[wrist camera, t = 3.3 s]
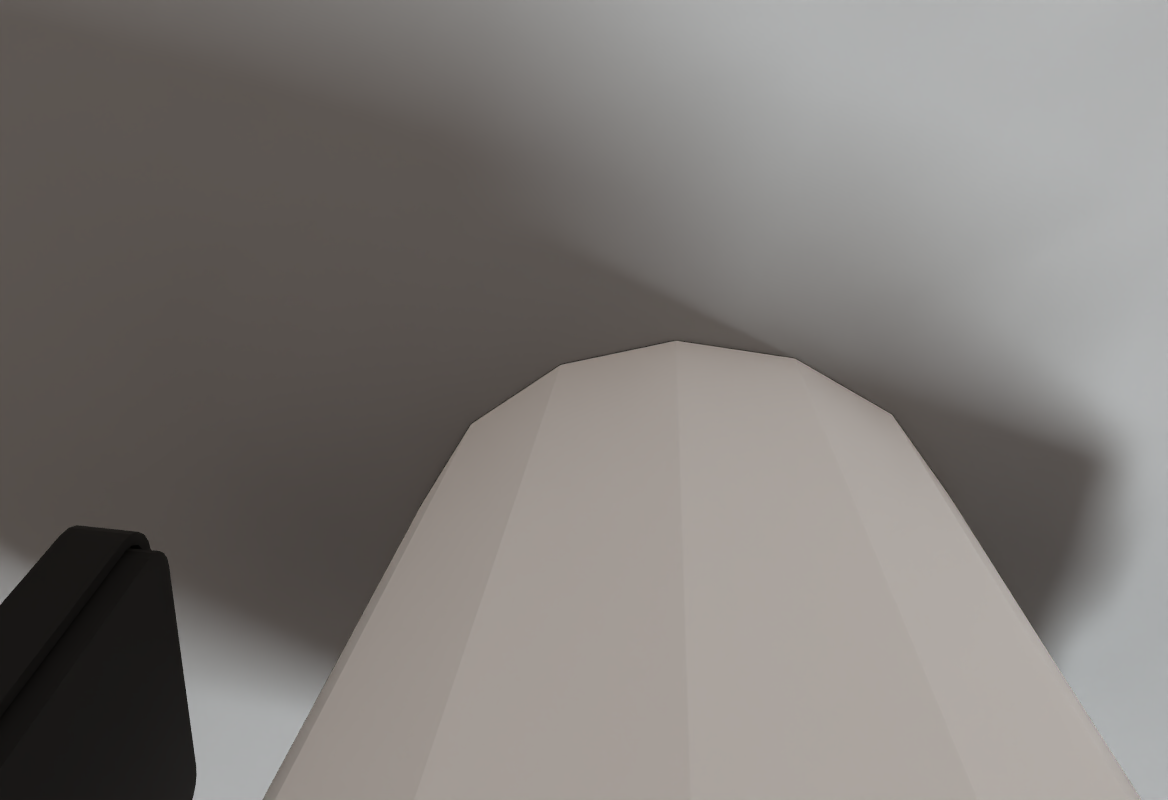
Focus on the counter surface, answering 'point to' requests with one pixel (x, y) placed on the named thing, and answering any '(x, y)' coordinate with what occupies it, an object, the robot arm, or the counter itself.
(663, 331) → the counter surface
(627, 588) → the white cup
